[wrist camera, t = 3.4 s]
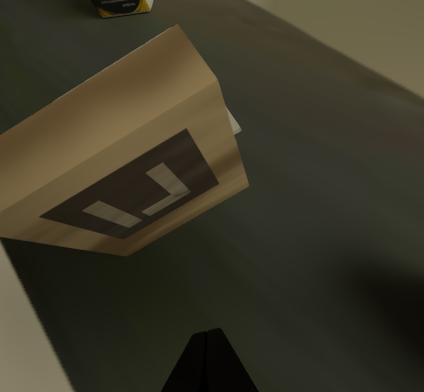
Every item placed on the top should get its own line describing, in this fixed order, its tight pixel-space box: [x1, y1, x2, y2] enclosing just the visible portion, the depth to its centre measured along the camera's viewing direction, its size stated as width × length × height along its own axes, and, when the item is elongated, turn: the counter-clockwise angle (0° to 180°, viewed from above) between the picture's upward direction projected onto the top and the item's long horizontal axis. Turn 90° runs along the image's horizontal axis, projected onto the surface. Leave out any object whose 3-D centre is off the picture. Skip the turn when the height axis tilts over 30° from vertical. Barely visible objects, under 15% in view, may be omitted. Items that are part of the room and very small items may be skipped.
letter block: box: [0, 24, 249, 257], centre depth 16 cm, size 4×12×12 cm, turn 117°
